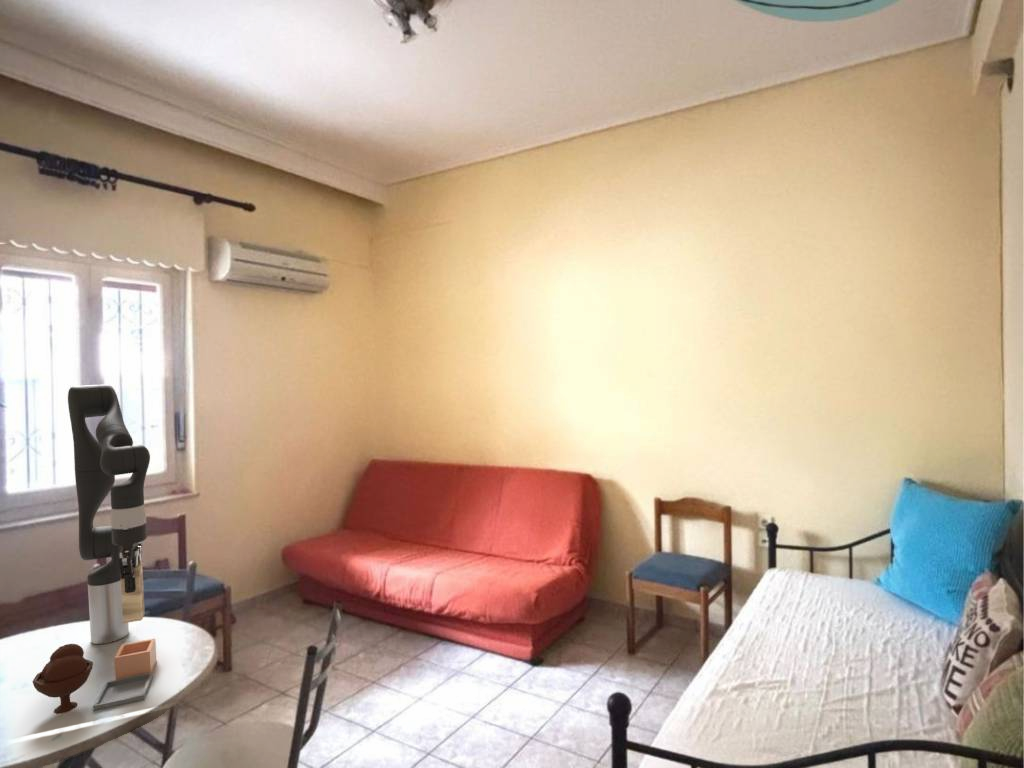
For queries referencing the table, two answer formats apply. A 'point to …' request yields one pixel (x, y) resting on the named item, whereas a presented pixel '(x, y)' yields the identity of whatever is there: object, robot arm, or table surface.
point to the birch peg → (133, 598)
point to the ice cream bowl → (64, 675)
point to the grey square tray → (123, 691)
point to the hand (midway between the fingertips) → (132, 588)
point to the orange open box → (135, 659)
